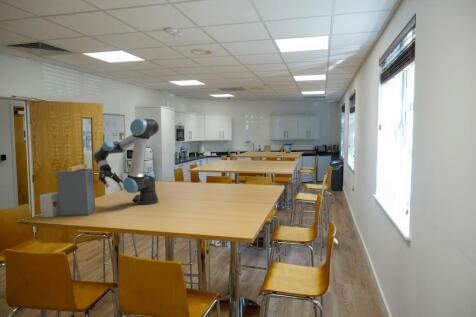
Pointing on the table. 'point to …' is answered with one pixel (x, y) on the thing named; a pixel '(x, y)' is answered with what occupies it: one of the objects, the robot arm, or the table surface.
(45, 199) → the supplement box
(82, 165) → the lid strip
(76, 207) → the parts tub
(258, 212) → the table surface
